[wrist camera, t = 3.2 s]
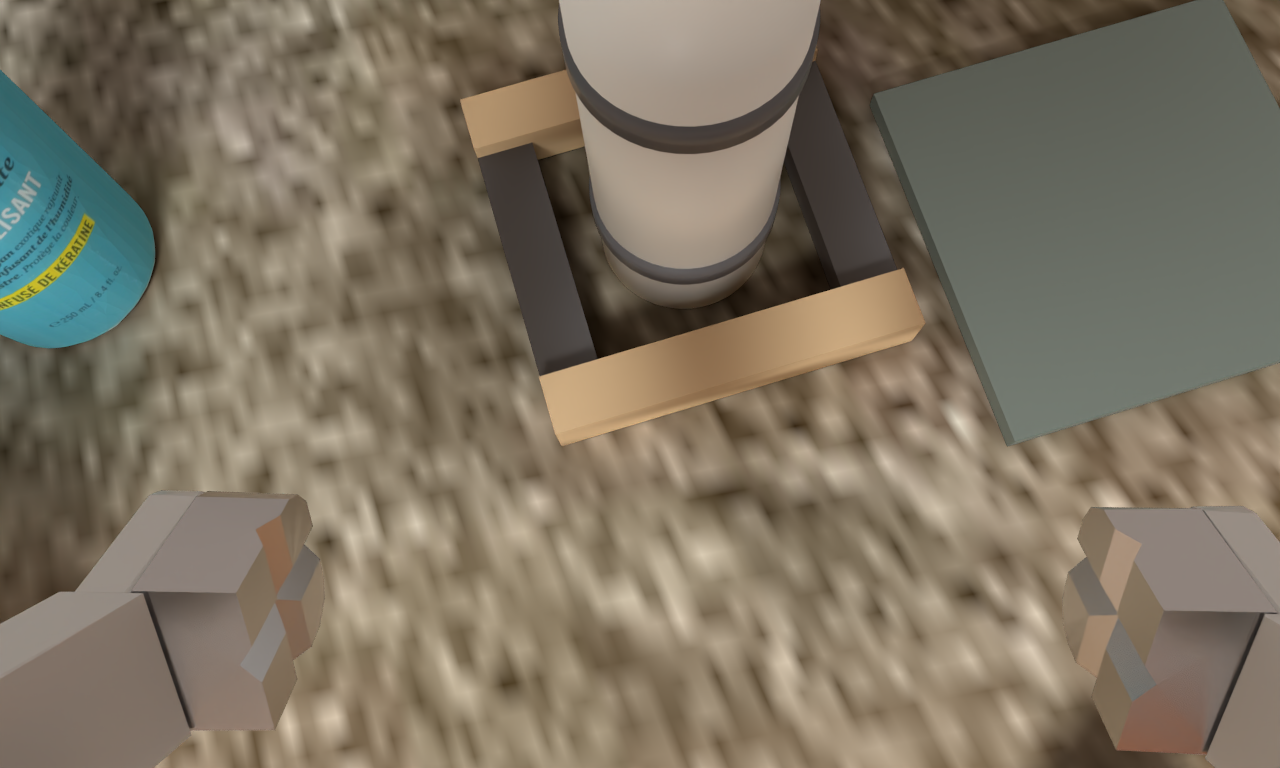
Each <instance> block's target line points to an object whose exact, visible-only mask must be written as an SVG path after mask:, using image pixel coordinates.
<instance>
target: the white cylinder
mask: <svg viewBox="0 0 1280 768" xmlns="http://www.w3.org/2000/svg"><path fill="white" fill-rule="evenodd" d="M820 1H821V0H559V12H558V25H559V36H560V41H561V46H562V52H563V57H564V62H565V66H566V70H567V74H568V77H569V79H570V82H571V84H572V87H573V89H574V91H575V93H576V99H577V104H578V110H579V116H580V121H581V127H582V132H583V138H584V144H585V149H586V155H587V161H588V166H589V172H590V177H589V193H590V201H591V206H592V212H593V216H594V220H595V224H596V227H597V229H598V232H599V234H600V236H601V239H602V245H603V249H604V253H605V256H606V259H607V261H608V264H609V265H610V267H611V269H612V271H613V273H614V274H615V275H616V276H617V278H618V279H619V280H620V281H621V282H622V283H623V284H624V286H625V287H626V288H628V289H629V290H630V291H632V292H633V293H634V294H635V295H637V296H639V297H641V298H642V299H644V300H646V301H649V302H651V303H653V304H656V305H660V306H663V307H669V308H676V309H690V308H698V307H703V306H707V305H710V304H713V303H716V302H718V301H720V300H722V299H724V298H726V297H728V296H730V295H731V294H732V293H734V292H735V291H737V290H738V289H739V288H740V287H741V286H742V285H743V284H744V283H745V282H746V281H747V280H748V279H749V278H750V276H751V275H752V274H753V272H754V270H755V269H756V267H757V265H758V263H759V261H760V259H761V256H762V253H763V249H764V245H765V241H766V239H767V237H768V235H769V233H770V231H771V228H772V226H773V223H774V219H775V216H776V211H777V207H778V203H779V197H780V176H781V171H782V167H783V163H784V158H785V154H786V149H787V145H788V141H789V136H790V132H791V128H792V123H793V119H794V115H795V110H796V106H797V102H798V97H799V94H800V93H801V91H802V89H803V87H804V85H805V82H806V80H807V78H808V75H809V72H810V68H811V65H812V61H813V57H814V53H815V48H816V44H817V40H818V35H819V28H820Z"/></svg>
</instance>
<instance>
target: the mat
mask: <svg viewBox="0 0 1280 768" xmlns="http://www.w3.org/2000/svg"><path fill="white" fill-rule="evenodd" d="M870 107H871V110H872V112H873V115H874V117H875V120H876V122H877V125H878V127H879V130H880V132H881V135H882V137H883V140H884V142H885V145H886V147H887V150H888V152H889V154H890V157H891V159H892V162H893V164H894V167H895V169H896V172H897V174H898V177H899V179H900V182H901V184H902V187H903V189H904V192H905V194H906V197H907V199H908V202H909V204H910V207H911V209H912V212H913V214H914V217H915V219H916V221H917V224H918V226H919V229H920V231H921V234H922V236H923V239H924V241H925V244H926V246H927V249H928V251H929V254H930V256H931V259H932V261H933V264H934V266H935V269H936V271H937V274H938V276H939V279H940V281H941V284H942V286H943V288H944V291H945V293H946V296H947V298H948V301H949V303H950V306H951V308H952V311H953V313H954V316H955V318H956V321H957V323H958V326H959V328H960V331H961V333H962V336H963V338H964V341H965V343H966V346H967V348H968V350H969V353H970V355H971V358H972V360H973V363H974V365H975V368H976V370H977V373H978V375H979V378H980V380H981V383H982V385H983V388H984V390H985V393H986V395H987V398H988V400H989V403H990V405H991V408H992V410H993V413H994V415H995V417H996V420H997V422H998V425H999V427H1000V430H1001V432H1002V435H1003V437H1004V440H1005V442H1006V445H1007V446H1011V445H1014V444H1017V443H1020V442H1024V441H1027V440H1030V439H1033V438H1037V437H1040V436H1043V435H1046V434H1050V433H1053V432H1056V431H1059V430H1063V429H1066V428H1069V427H1072V426H1076V425H1079V424H1082V423H1086V422H1089V421H1092V420H1095V419H1099V418H1102V417H1105V416H1108V415H1112V414H1115V413H1118V412H1121V411H1125V410H1128V409H1131V408H1134V407H1138V406H1141V405H1144V404H1147V403H1151V402H1154V401H1157V400H1160V399H1164V398H1167V397H1170V396H1173V395H1177V394H1180V393H1183V392H1186V391H1190V390H1193V389H1196V388H1199V387H1203V386H1206V385H1209V384H1212V383H1216V382H1219V381H1222V380H1225V379H1229V378H1232V377H1235V376H1239V375H1242V374H1245V373H1248V372H1252V371H1255V370H1258V369H1261V368H1265V367H1268V366H1271V365H1274V364H1278V363H1280V108H1279V106H1278V104H1277V102H1276V101H1275V99H1274V97H1273V95H1272V93H1271V91H1270V89H1269V87H1268V85H1267V83H1266V81H1265V79H1264V78H1263V76H1262V74H1261V72H1260V70H1259V68H1258V66H1257V64H1256V62H1255V60H1254V58H1253V56H1252V55H1251V53H1250V51H1249V49H1248V47H1247V45H1246V43H1245V41H1244V39H1243V37H1242V35H1241V33H1240V32H1239V30H1238V28H1237V26H1236V24H1235V22H1234V20H1233V18H1232V16H1231V14H1230V12H1229V10H1228V9H1227V7H1226V5H1225V3H1224V1H1223V0H1196V1H1192V2H1189V3H1185V4H1182V5H1178V6H1175V7H1171V8H1168V9H1165V10H1161V11H1158V12H1154V13H1151V14H1147V15H1144V16H1140V17H1137V18H1134V19H1130V20H1127V21H1123V22H1120V23H1116V24H1113V25H1109V26H1106V27H1102V28H1099V29H1096V30H1092V31H1089V32H1085V33H1082V34H1078V35H1075V36H1071V37H1068V38H1064V39H1061V40H1058V41H1054V42H1051V43H1047V44H1044V45H1040V46H1037V47H1033V48H1030V49H1027V50H1023V51H1020V52H1016V53H1013V54H1009V55H1006V56H1002V57H999V58H995V59H992V60H989V61H985V62H982V63H978V64H975V65H971V66H968V67H964V68H961V69H958V70H954V71H951V72H947V73H944V74H940V75H937V76H933V77H930V78H926V79H923V80H920V81H916V82H913V83H909V84H906V85H902V86H899V87H895V88H892V89H889V90H885V91H882V92H878V93H875V94H874V95H873V98H872V100H871V103H870Z"/></svg>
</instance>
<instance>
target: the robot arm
mask: <svg viewBox="0 0 1280 768" xmlns="http://www.w3.org/2000/svg"><path fill="white" fill-rule="evenodd" d="M312 527H313V525H312V521H311V517H310V513H309V510H308V506H307V502H306V501H305V500H304V499H303V498H302V497H300V496H299V495H298V494H271V493H244V492H217V491H207V492H202V491H168V490H161V491H159V492H156V493H154V494H151V495H149V496H148V497H147V498H146V500H145V501H144V502H143V504H142V505H141V506H140V508H139V509H138V510H137V511H136V513H135V514H134V515H133V517H132V518H131V519H130V520H129V522H128V523H127V524H126V526H125V527H124V528H123V530H122V531H121V532H120V533H119V535H118V536H117V537H116V539H115V540H114V541H113V543H112V544H111V545H110V546H109V548H108V549H107V550H106V552H105V553H104V554H103V556H102V557H101V558H100V559H99V561H98V562H97V563H96V565H95V566H94V567H93V569H92V570H91V571H90V572H89V574H88V575H87V576H86V578H85V579H84V580H83V581H82V583H81V584H80V585H79V587H78V588H77V589H76V591H75V592H58V593H56V594H54V595H53V596H51V597H49V598H47V599H45V600H43V601H41V602H40V603H38V604H36V605H34V606H32V607H30V608H28V609H27V610H25V611H23V612H21V613H19V614H17V615H16V616H14V617H12V618H10V619H8V620H6V621H4V622H3V623H1V624H0V768H154V767H155V766H156V765H158V764H159V763H160V762H161V761H162V760H163V759H164V758H166V757H167V756H168V755H169V754H170V753H171V752H172V751H174V750H175V749H176V748H177V747H178V746H179V745H180V744H182V743H183V742H184V741H185V740H186V739H187V738H188V737H190V736H191V732H190V730H275V729H276V726H277V724H278V722H279V720H280V717H281V715H282V713H283V711H284V708H285V706H286V704H287V702H288V699H289V697H290V695H291V693H292V690H293V688H294V686H295V684H296V681H297V676H296V671H295V667H294V663H293V660H294V659H295V658H297V657H298V656H299V655H301V654H302V653H304V652H305V651H306V650H308V649H309V648H310V647H312V644H313V642H314V640H315V637H316V635H317V632H318V630H319V627H320V624H321V618H322V612H323V606H324V600H325V592H324V575H323V571H322V566H321V561H320V559H319V558H318V557H317V556H316V555H315V554H314V553H313V552H312V551H311V550H310V549H309V548H308V547H307V546H305V545H304V543H305V541H306V539H307V537H308V535H309V533H310V531H311V529H312ZM1077 539H1078V541H1079V543H1080V545H1081V547H1082V549H1083V551H1084V553H1085V555H1086V558H1085V559H1083V560H1082V561H1081V562H1080V563H1079V564H1077V565H1076V566H1075V567H1074V568H1073V569H1071V570H1070V571H1069V572H1068V575H1067V580H1066V584H1065V588H1064V593H1063V597H1062V603H1063V626H1064V630H1065V634H1066V638H1067V643H1068V645H1069V648H1070V650H1071V652H1072V655H1073V657H1074V659H1075V662H1076V663H1077V664H1079V665H1080V666H1081V667H1083V668H1084V669H1085V670H1087V671H1088V672H1089V673H1091V674H1092V675H1093V676H1095V677H1096V678H1097V679H1096V683H1095V686H1094V689H1093V693H1092V696H1091V697H1092V699H1093V701H1094V703H1095V706H1096V708H1097V710H1098V712H1099V714H1100V716H1101V719H1102V721H1103V723H1104V725H1105V727H1106V729H1107V731H1108V734H1109V736H1110V738H1111V740H1112V742H1113V744H1114V747H1115V749H1116V750H1123V751H1143V752H1163V753H1183V754H1203V755H1206V757H1205V759H1206V760H1207V761H1208V762H1209V763H1211V764H1212V765H1213V766H1214V767H1215V768H1280V542H1279V541H1278V540H1277V538H1276V537H1275V536H1274V535H1273V534H1272V532H1271V531H1270V530H1269V529H1268V527H1267V526H1266V525H1265V524H1264V522H1263V521H1262V520H1261V519H1260V517H1259V516H1258V515H1257V514H1256V513H1255V512H1254V511H1252V510H1250V509H1248V508H1246V507H1244V506H1205V507H1191V508H1112V507H1091V508H1090V509H1089V511H1088V512H1087V514H1086V515H1085V517H1084V518H1083V520H1082V524H1081V527H1080V531H1079V534H1078V538H1077Z"/></svg>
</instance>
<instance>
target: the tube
mask: <svg viewBox="0 0 1280 768" xmlns="http://www.w3.org/2000/svg"><path fill="white" fill-rule="evenodd" d="M154 264H155V242H154V236H153V231H152V228H151V225H150V223H149V221H148V218H147V217H146V215H145V213H144V212H143V210H142V209H141V208H140V206H139V205H138V204H137V203H136V202H135V201H134V200H133V199H132V197H131V196H130V195H129V194H128V193H127V192H126V191H125V190H124V189H123V188H122V187H121V186H120V185H118V184H117V183H116V182H115V181H114V180H113V179H112V178H111V177H110V176H109V175H108V174H107V173H106V172H105V171H104V170H103V169H102V168H101V167H100V166H99V165H98V164H97V163H96V162H95V161H94V160H93V159H92V158H91V157H90V156H89V155H88V154H87V153H86V152H85V151H84V150H83V149H81V148H80V147H79V146H78V145H77V144H76V143H75V142H74V141H73V140H72V139H71V138H70V137H69V136H68V135H67V134H66V133H65V132H64V131H63V130H62V129H61V128H60V127H59V126H58V125H57V124H56V123H55V122H54V121H53V120H52V119H51V118H50V117H49V116H47V115H46V114H45V113H44V112H43V111H42V110H41V109H40V108H39V107H38V106H37V105H36V104H35V103H34V102H33V101H32V100H31V99H30V98H29V97H28V96H27V95H26V94H25V93H24V92H23V91H22V90H21V89H20V88H19V87H18V86H17V85H16V84H15V83H14V82H12V81H11V80H10V79H9V78H8V77H7V76H6V75H5V74H4V73H3V72H2V71H1V70H0V334H1V335H3V336H5V337H8V338H10V339H13V340H15V341H18V342H20V343H23V344H26V345H29V346H34V347H41V348H60V347H67V346H71V345H75V344H79V343H83V342H86V341H88V340H91V339H93V338H95V337H97V336H100V335H101V334H103V333H105V332H107V331H109V330H111V329H112V328H114V327H115V326H117V325H118V324H119V323H120V322H121V321H122V320H123V319H124V318H125V317H126V316H127V314H128V313H129V312H130V311H131V310H132V309H133V308H134V307H135V306H136V304H137V303H138V301H139V300H140V298H141V297H142V295H143V293H144V291H145V290H146V288H147V286H148V283H149V280H150V278H151V275H152V271H153V267H154Z"/></svg>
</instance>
